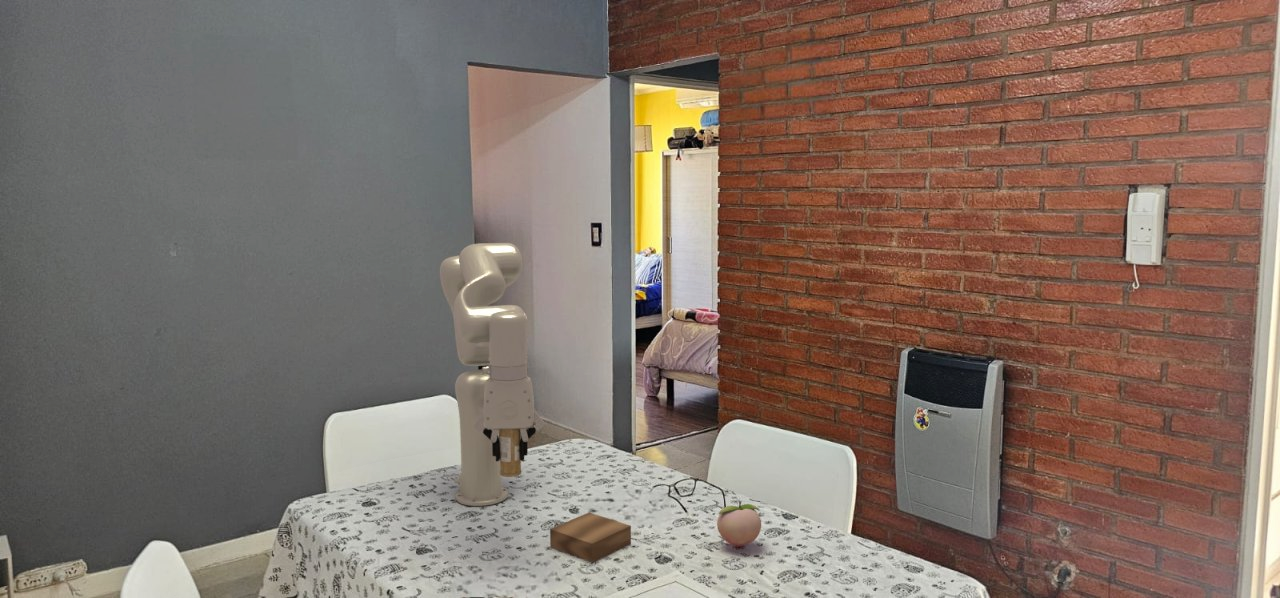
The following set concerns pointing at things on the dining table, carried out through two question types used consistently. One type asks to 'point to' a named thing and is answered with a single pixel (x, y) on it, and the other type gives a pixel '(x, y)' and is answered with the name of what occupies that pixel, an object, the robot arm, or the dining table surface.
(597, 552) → the walnut stand
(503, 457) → the sprinkles bottle
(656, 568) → the dining table surface
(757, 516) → the decorative fruit
